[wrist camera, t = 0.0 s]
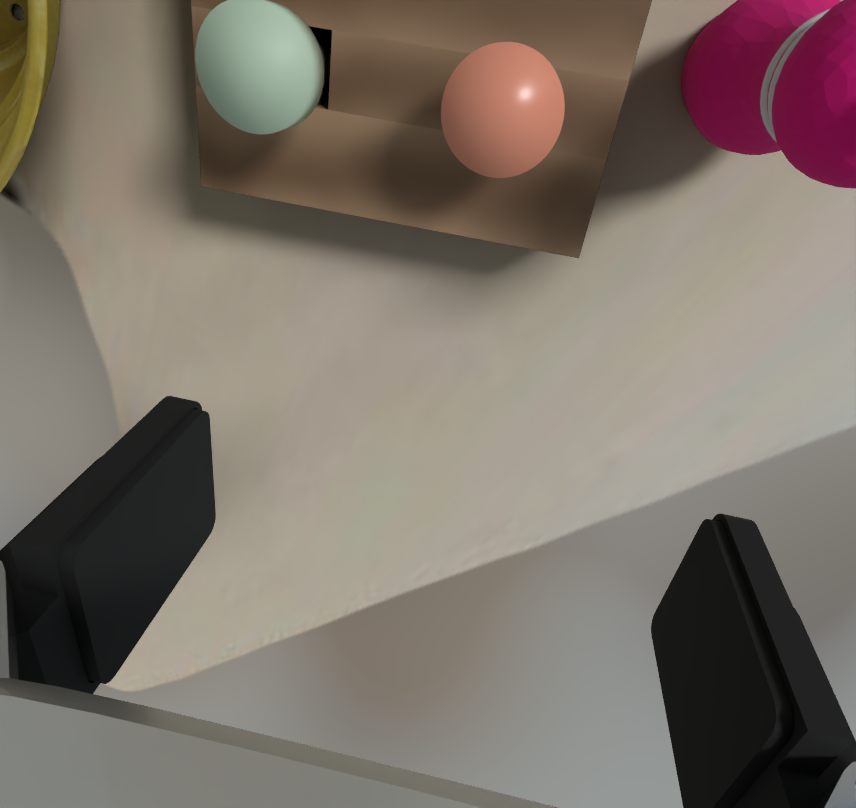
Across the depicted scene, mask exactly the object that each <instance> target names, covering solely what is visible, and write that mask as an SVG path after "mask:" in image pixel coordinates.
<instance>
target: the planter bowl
mask: <svg viewBox="0 0 856 808" xmlns="http://www.w3.org/2000/svg"><path fill="white" fill-rule="evenodd" d="M13 4H18V5H19V6H20V7H21V8H22V9H23V12H24V17H23V20H17V19H15V17H14V16H13V14H12V6H13ZM59 20H60V0H0V192H1V191H2V190H3V189H4V187H5V186H6V184H7V183H8V181H9V180H10V178H11V177H12V175H13V174H14V172H15V170H16V168H17V166H18V164H19V162H20V160H21V158H22V156H23V154H24V152H25V149H26V147H27V144H28V141H29V139H30V136H31V134H32V131H33V127H34V124H35V120H36V116H37V114H38V111H39V109H40V107H41V104H42V102H43V99H44V97H45V94H46V90H47V87H48V84H49V80H50V77H51V73H52V70H53V66H54V62H55V56H56V49H57V42H58V35H59Z"/></svg>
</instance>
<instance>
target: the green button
mask: <svg viewBox="0 0 856 808" xmlns="http://www.w3.org/2000/svg"><path fill="white" fill-rule="evenodd" d="M195 62H196V70H197V74H198V78H199V81H200V84H201V87H202V89H203V91H204V94H205V96H206V97H207V99H208V101H209V102H210V104H211V105H212V107H213V108H214V109H215V110H216V112H217V113H218V114H219V115H220V116H221V117H222V118H223V119H224V120H226V121H227V122H228V123H230V124H231V125H233V126H234V127H236V128H238V129H240V130H242V131H245V132H248V133H252V134H260V135H261V134H271V133H275V132H278V131H281V130H284V129H287V128H290V127H293V126H295V125H297V124H299V123H301V122H302V121H304V120H305V119H306V118H307V117H308V116H309V115H310V114H311V113H312V112H313V110H314V109H315V107H316V106H317V104H318V102H319V99H320V97H321V94H322V90H323V87H324V86H325V85H326V84H327V82H328V81H329V79H330V62H331V56H330V53H329V51H328V49H327V48H326V46H325V45H324V44H323V43H322V42H321V41H320V40H318V39H316V38H315V36H314V34H313V32H312V31H311V29H310V28H309V26H308V25H307V24H306V23H305V21H304V20H303V19H302V18H301V17H300V16H299V15H298V14H296V13H295V12H294V11H293V10H291V9H289V8H288V7H286V6H284V5H282V4H279V3H277V2H273V1H268V0H227V1H225V2H223V3H221V4H219V5H218V6H216V7H215V8H214V9H213V10H212V11H211V12H210V13H209V14H208V16H207V17H206V18H205V20H204V22H203V23H202V25H201V28H200V30H199V33H198V36H197V41H196V48H195Z"/></svg>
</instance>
